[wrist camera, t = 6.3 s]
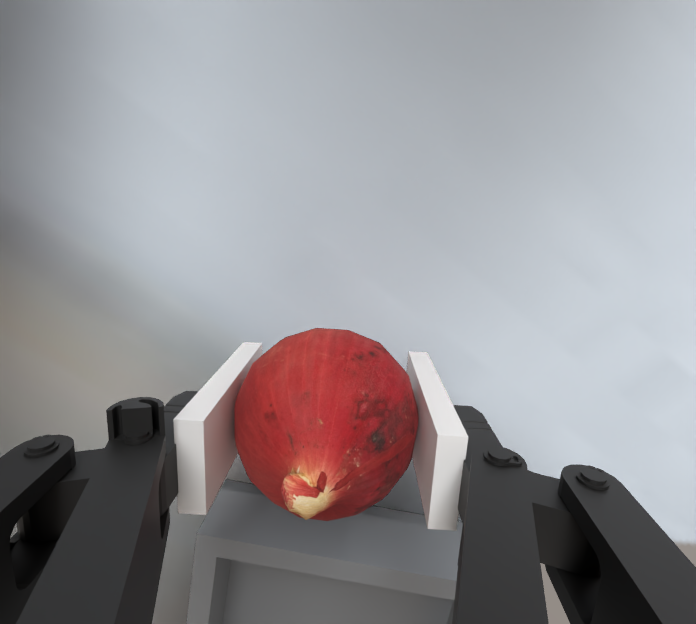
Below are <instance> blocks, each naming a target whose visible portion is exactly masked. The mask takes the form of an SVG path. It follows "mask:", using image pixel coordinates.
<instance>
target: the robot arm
mask: <svg viewBox="0 0 696 624" xmlns="http://www.w3.org/2000/svg"><path fill="white" fill-rule="evenodd" d="M261 356H262V343H252V342H243V343H242V344H241V345H240V346H239V348H238V349H237V350H236V351H235V352H234V353H233V354H232V355H231V356H230V357H229V359H228V360H227V361H226V362H225V363H224V364H223V365H222V366H221V367H220V368H219V370H218V371H217V372H216V373H215V374H214V375H213V376H212V377H211V378H210V380H209V381H208V382H207V383H206V384H205V385H204V386H203V387H202V388H201V389H200V391H199V392H197V391H185V392H183V393H181V394H179V395H177V396H175V397H173V398H172V399H171V400H170V401H169V402H168V403H167V404H166V406H164V405H163V402H162V401H161V400H159V399H156V398H151V397H139V398H131V399H127V400H123V401H120V402H118V403H116V404H114V405H112V406H110V407H109V408H108V409H107V410H106V411H107V423H108V434H109V441H108V443H107V445H106V447H105V448H103V449H96V450H88V451H79V452H75V450H74V442H73V439H72V438H70V437H68V436H63V435H44V436H43V437H41V436H39V437H35V438H33V439H32V440H29V441H26V442H23V443H22V444H20V445H18V446H16V447H15V448H13V449H12V450H10V451H9V452H8V453H6V454H5V455H3V456H2V457H1V458H0V624H152V618H153V613H154V607H155V602H156V596H157V591H158V585H159V580H160V574H161V569H162V563H163V558H164V552H165V547H166V541H167V536H168V530H169V525H170V513H169V506H170V505H171V503H172V502H173V500H174V499H175V497H176V496H177V505H178V513H181V514H197V515H206V514H207V513H208V511H209V509H210V507H211V505H212V503H213V501H214V499H215V497H216V495H217V493H218V491H219V489H220V487H221V485H222V483H223V481H224V479H225V477H226V475H227V473H228V471H229V469H230V467H231V465H232V463H233V461H234V460H235V458H236V456H237V454H238V450H237V448H236V443H235V438H234V405H235V401H236V398H237V394H238V392H239V390H240V388H241V386H242V384H243V382H244V380H245V378H246V376H247V374H248V372H249V370H250V368H251V365H252V363H253V362H255V361H256V360H257V359H258V358H260V357H261ZM407 374H408V375H409V378H410V382H411V385H412V389H413V393H414V396H415V400H416V403H417V407H418V413H419V421H418V428H417V434H416V439H415V444H414V449H413V454H412V458H413V463H414V468H415V472H416V477H417V482H418V486H419V491H420V496H421V500H422V505H423V510H424V514H425V519H426V524H427V528H428V529H437V530H453V531H456V530H457V523H458V515H459V514H460V517H461V520H462V523H463V526H462V534H461V541H460V549H459V557H458V564H457V565H458V571H457V581H456V590H455V600H454V610H453V620H452V624H548V617H547V610H546V602H545V595H544V588H543V580H542V573H541V566H540V563H543V564H545V567H546V571H547V573H548V575H549V577H550V580H551V582H552V584H553V586H554V588H555V591H556V593H557V595H558V597H559V599H560V602H561V604H562V606H563V608H564V611H565V613H566V615H567V617H568V619H569V622H570V624H696V567H695V566H694V565H693V564H692V563H691V562H690V560H689V559H688V558H687V557H686V556H685V555H684V554H683V553H682V552H681V550H680V549H679V548H678V547H677V546H676V545H675V543H674V542H673V541H672V540H671V539H670V538H669V537H668V535H667V534H666V533H665V532H664V531H663V530H662V529H661V528H660V526H659V525H658V524H657V523H656V522H655V521H654V520H653V518H652V517H651V516H650V515H649V514H648V513H647V512H646V511H645V509H644V508H643V507H642V506H641V505H640V504H639V503H638V501H637V500H636V499H635V498H634V497H633V496H632V495H631V493H630V492H629V491H628V490H627V489H626V488H625V487H624V486H623V484H622V483H621V482H619V481H618V480H617V479H616V478H615V477H613V476H612V475H610V474H608V473H606V472H604V471H603V470H601V469H598V468H597V469H596V468H595V467H592V466H585V465H569V466H566V467H564V468H563V470H562V472H561V478H560V479H557V478H553V477H548V476H544V475H540V474H537V473H534V472H531V471H529V470H527V464H526V462H525V460H524V459H523V458H522V457H521V456H520V455H518V454H517V453H515V452H513V451H511V450H509V449H506V448H503V447H502V445H501V444H500V442H499V440H498V439H497V437H496V435H495V434H494V432H493V431H492V429H491V427H490V426H489V424H487V421H486V419H485V417H484V416H483V414H482V413H480V412H479V411H478V410H476V409H475V408H473V407H472V406H458V405H453V404H452V402H451V400H450V398H449V396H448V394H447V392H446V390H445V388H444V386H443V384H442V382H441V379H440V377H439V375H438V373H437V371H436V369H435V367H434V365H433V363H432V361H431V359H430V357H429V355H428V353H427V352H412V351H408V362H407ZM16 523H17V529H18V532H17V533H16V534H15V535H14V536H13V537H12V538H11V539H10V536H11V533H12V531H13V528H14V526H15V524H16Z"/></svg>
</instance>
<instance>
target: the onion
mask: <svg viewBox="0 0 696 624" xmlns="http://www.w3.org/2000/svg"><path fill="white" fill-rule="evenodd" d="M418 421H419V413H418V407H417V403H416V400H415V396H414V393H413V389H412V385H411V382H410V378H409V375H408V374H407V373H406V372H405V370H404V369H403V368H402V367H401V366H400V365H399V363H398V362H397V361H396V360H395V359H394V358H393V357H392V356H391V355H390V353H389V352H388V351H387V350H386V349H385V348H384V347H383V346H382V345H381V344H380V343H379V342H376V341H374V340H371V339H369V338H366V337H364V336H362V335H359V334H357V333H354V332H352V331H349V330H338V329H324V328H315V329H311V330H308V331H305V332H301V333H298V334H295V335H292V336H288V337H286V338H284V339H282V340H281V341H279V342H278V343H277V344H276V345H274V346H273V347H272V348H271V349H269V350H268V351H267V352H266V353H264V354H263V355H262V356H261V357H260V358H258V359H257V360H256V361H255V362H253V363H252V365H251V368H250V370H249V372H248V374H247V376H246V378H245V380H244V382H243V384H242V386H241V388H240V390H239V392H238V394H237V398H236V401H235V405H234V438H235V443H236V448H237V450H238V453H239V455H240V458H241V460H242V463H243V465H244V468H245V470H246V473H247V475H248V477H249V479H250V480H251V482H252V483H253V484H254V485H255V486H256V487H257V488H258V489H259V490H260V491H261V492H262V493H263V494H264V495H265V496H266V497H268V498H269V499H270V500H271V501H272V502H273V503H274V504H276V505H278V506H280V507H281V508H283V509H285V510H287V511H289V512H290V513H292V514H294V515H296V516H298V517H299V518H304V519H305V520H307V519H314V520H322V521H330V520H335V519H340V518H345V517H350V516H354V515H357V514H359V513H361V512H363V511H364V510H366V509H367V508H369V507H371V506H372V505H374V504H376V503H377V502H379V501H380V500H382V499H383V498H384V497H385V496H386V495H387V494H388V493H389V492H390V491H391V489H392V488H393V487H394V485H395V484H396V483H397V481H398V480H399V479H400V478H401V476H402V475H403V474H404V472H405V471H406V470H407V468H408V466H409V464H410V461H411V459H412V454H413V449H414V444H415V439H416V434H417V428H418Z"/></svg>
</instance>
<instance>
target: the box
mask: <svg viewBox="0 0 696 624" xmlns="http://www.w3.org/2000/svg"><path fill="white" fill-rule="evenodd" d="M462 526H463V523H462V522H459V521H458V523H457V530H456V531H453V530H437V529H428V528H427V524H426V519H425V515H420V514H415V513H409V512H404V511H398V510H393V509H387V508H382V507H376V506H371V507H369V508H367V509H366V510H364V511H363V512H361V513H359V514H357V515H354V516H350V517H345V518H340V519H335V520H330V521H322V520H314V519H307V520H305V519H304V518H299V517H298V516H296V515H294V514H292V513H290V512H289V511H287V510H285V509H283V508H281V507H280V506H278V505H276V504H274V503H273V502H272V501H271V500H270V499H269V498H268V497H266V496H265V495H264V494H263V493H262V492H261V491H260V490H259V489H258V488H257V487H256V486H255V485H254V484H249V483H244V482H238V481H233V480H227V479H226V480H225V482H224V484H223V486H222V488H221V490H220V491H219V493H218V495H217V497H216V499H215V501H214V503H213V504H212V506H211V508H210V510H209V512H208V514H207V515H206V517H205V519H204V521H203V523H202V525H201V526H200V528H199V530H198V532H197V534H196V543H195V552H194V561H193V570H192V579H191V587H190V596H189V605H188V614H187V623H186V624H452V620H453V610H454V600H455V590H456V581H457V571H458V565H457V564H458V557H459V549H460V541H461V534H462Z"/></svg>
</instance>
